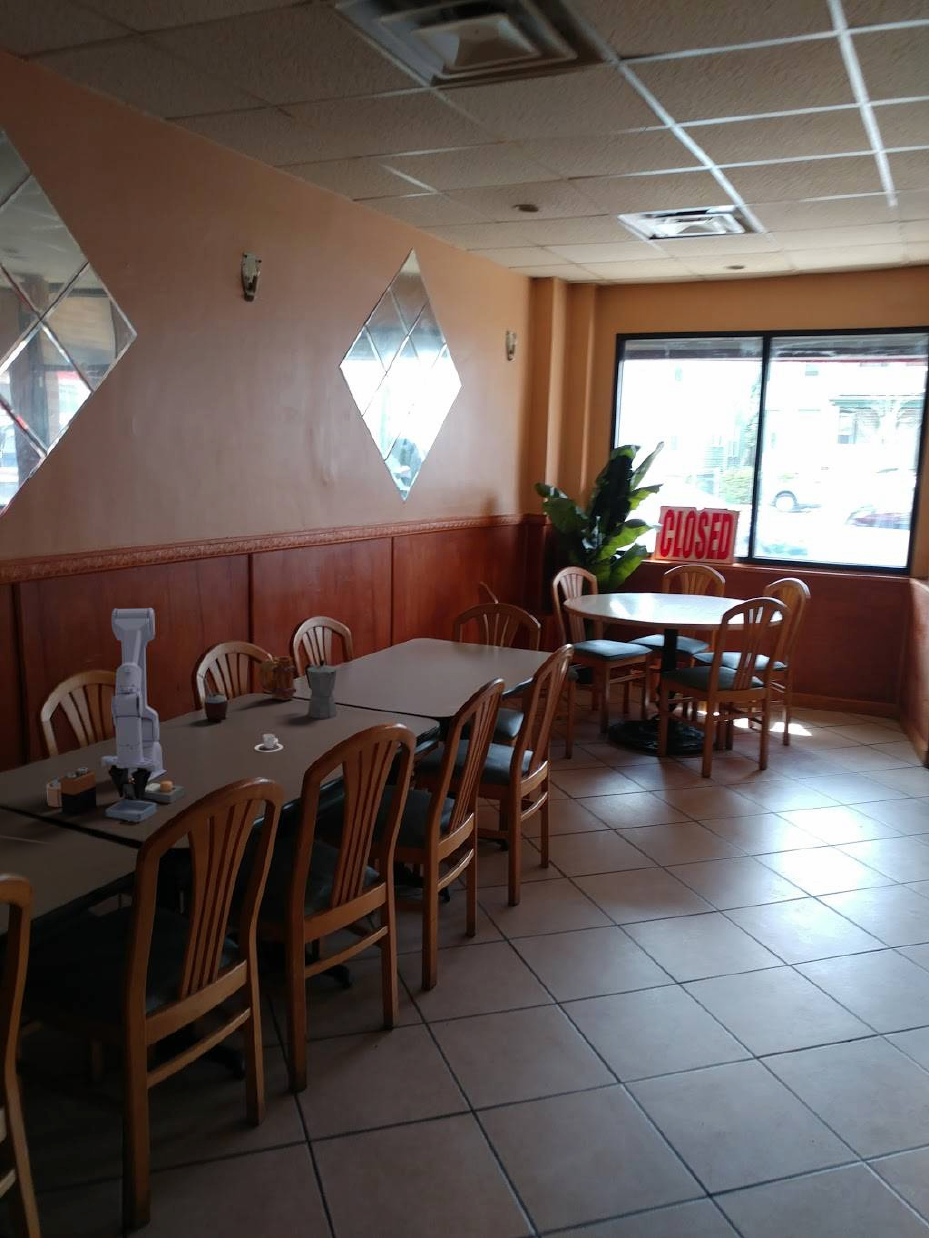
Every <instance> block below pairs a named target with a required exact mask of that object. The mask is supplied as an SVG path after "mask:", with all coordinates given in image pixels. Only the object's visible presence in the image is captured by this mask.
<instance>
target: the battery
mask: <svg viewBox="0 0 929 1238" xmlns="http://www.w3.org/2000/svg"><path fill="white" fill-rule="evenodd" d="M88 769H89V768H88V767H85V766H84V767H79V768H78V769H77V770H76V771H75V772H69V773H67V775H63V776H64V777H62V778H60V785H61V801H62V807H61V812H62V815H67V816H72V817H78V816H81V815H83V814H84V813H86V812H88V811H91V810H93V809H96V808H97V807H98V805H97V791H96V790H97V789H96V788H97V786H96V785H97V784H96V773H95V772H94V771H92V770H88Z"/></svg>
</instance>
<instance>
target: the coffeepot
mask: <svg viewBox="0 0 929 1238" xmlns="http://www.w3.org/2000/svg"><path fill="white" fill-rule="evenodd" d="M318 661H319V662H318V663H319V665H317V664H314V663H310V662H309V663H307V664H306V666H305V667H304V672H305V677H306V679H307V685H308V687H309V689H310V690H311V695H310V697H309V704H308V710H307V714H308V716H309V717H310V718H312V719H329V718H333V717H335V716H336V715H338V714H337V713H338V712H337V708H336V702H335V701H336V700H335V696H334V694H333V692H334V689H335V685H336V684H335V683H336V677H337V670H338V669H337V668H336V667H334V666H330V665H325V660H324V659H320V660H318Z"/></svg>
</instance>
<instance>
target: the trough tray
mask: <svg viewBox="0 0 929 1238" xmlns="http://www.w3.org/2000/svg"><path fill="white" fill-rule="evenodd" d="M158 812H159V811H158V803H156V802H151V801H150V802H147V801H142V800H141V801H134V800H127V799H123V798H122V799H121V800H120V801H117V803H115V804H113V805H111V806H110V807H108V808H106V809H104V815H105V817H107V818H116V819H122V821H123V820H131V821H137V822H140V821H142V820H144V819H145V820H146V819H148V818H149V817H151V816H153V815H155V814H156V813H158ZM145 820H144V821H145ZM137 822H136V823H137ZM142 822H143V821H142ZM140 823H141V822H140Z"/></svg>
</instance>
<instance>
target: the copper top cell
mask: <svg viewBox="0 0 929 1238" xmlns="http://www.w3.org/2000/svg"><path fill="white" fill-rule="evenodd" d="M122 787H123V797H122V800H123V799H127V800H134V801H142V798H141V799H139V800H138V799H136V791H135V783H134V780H133V777H131V778H128V779H127V780H125V781H123V782H122Z"/></svg>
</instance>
